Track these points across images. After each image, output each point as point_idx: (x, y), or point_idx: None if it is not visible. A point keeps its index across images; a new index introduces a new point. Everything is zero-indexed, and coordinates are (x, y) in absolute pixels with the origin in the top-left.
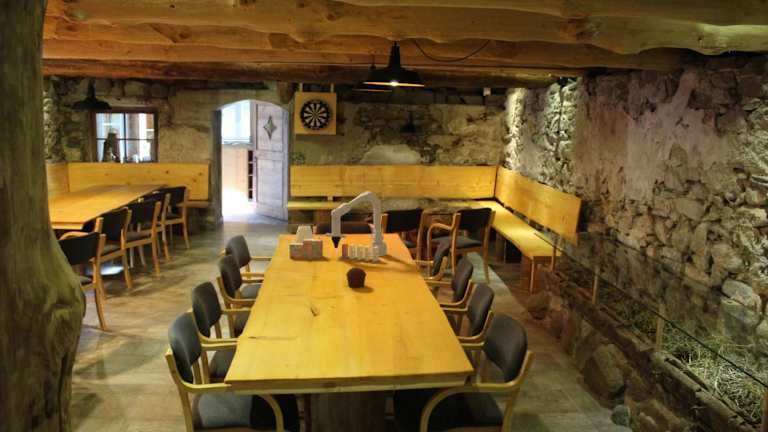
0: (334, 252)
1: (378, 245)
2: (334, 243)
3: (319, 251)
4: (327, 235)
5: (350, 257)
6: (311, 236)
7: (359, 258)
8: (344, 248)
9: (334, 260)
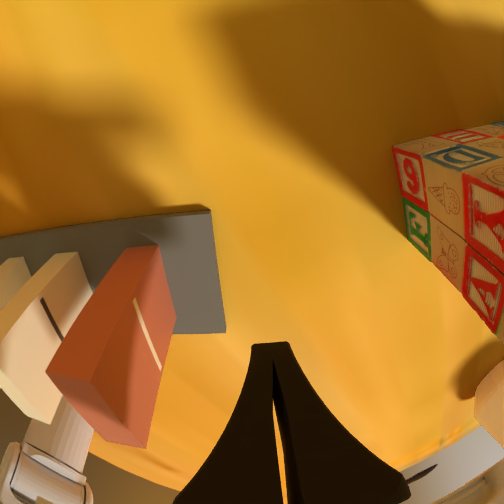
0: (352, 385)
1: (26, 433)
2: (294, 408)
3: (464, 161)
4: (491, 487)
5: (60, 261)
6: (494, 419)
7: (2, 264)
8: (71, 327)
9: (198, 137)
